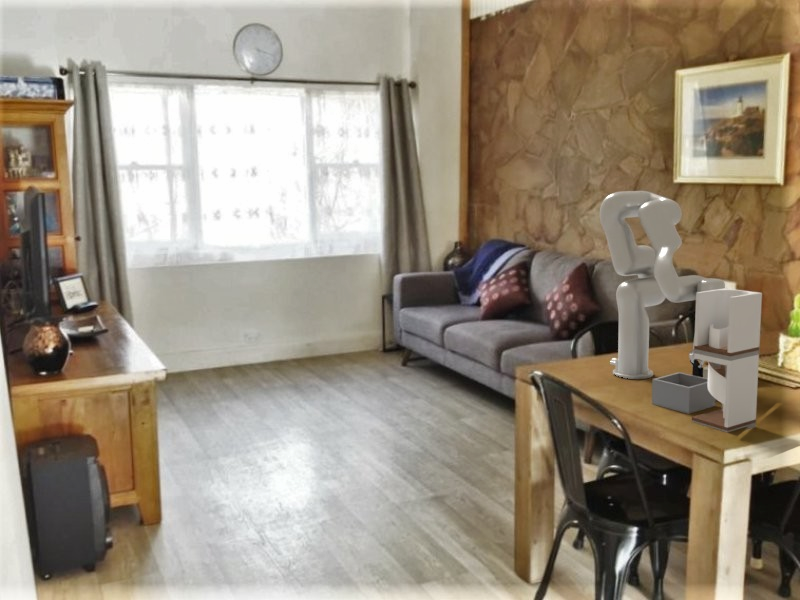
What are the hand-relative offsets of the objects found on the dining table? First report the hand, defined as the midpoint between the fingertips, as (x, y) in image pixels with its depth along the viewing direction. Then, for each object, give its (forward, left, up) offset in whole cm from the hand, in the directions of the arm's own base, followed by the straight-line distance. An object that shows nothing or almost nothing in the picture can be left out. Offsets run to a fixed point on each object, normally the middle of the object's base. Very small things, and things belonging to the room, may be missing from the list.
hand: (707, 377), depth 227 cm
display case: (+20, -23, -5) cm, 31 cm away
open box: (+4, -17, -5) cm, 18 cm away
